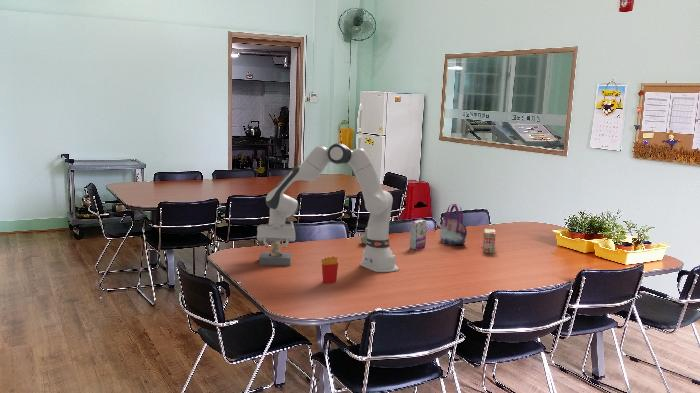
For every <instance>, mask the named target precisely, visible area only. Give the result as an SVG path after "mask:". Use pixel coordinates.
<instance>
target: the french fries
mask: <svg viewBox="0 0 700 393" xmlns="http://www.w3.org/2000/svg"><path fill="white" fill-rule="evenodd" d="M338 259H339V257H338V256H337V257H335V256H331V257H330V256H329V257H324V258H322V259H321V272H322V273H321V275H322V282H323V284H333V283H336V282H337V276H338V270H339V263H338Z"/></svg>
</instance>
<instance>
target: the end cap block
mask: <svg viewBox="0 0 700 393" xmlns="http://www.w3.org/2000/svg"><path fill="white" fill-rule="evenodd" d="M291 264H292V252H289V251H288V252H284V251H280V256H271V251H261V252H260V253H259V257H258V265H259V266H282V267H283V266H288V267H289V266H291Z"/></svg>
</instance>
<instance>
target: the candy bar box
mask: <svg viewBox="0 0 700 393" xmlns="http://www.w3.org/2000/svg"><path fill="white" fill-rule="evenodd" d="M409 225H410V229H409V249H410V248H412V249H411V250H415V249H417V250H420V249H422V247H423V248H425V247H426V239H427V238H426V237H427V236H426V235H427V220H424V219H417V220H414V221H410V224H409ZM419 248H420V249H419Z"/></svg>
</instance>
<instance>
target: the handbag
mask: <svg viewBox="0 0 700 393" xmlns="http://www.w3.org/2000/svg"><path fill="white" fill-rule="evenodd" d="M458 206H459V204H458V203H451V204H450V205H449V206H448V208H447V209H446V214H445V220H444V221H442V223H441V226H440V235H439V236H440V242H441V243H443V242H444V244H446V243H448V244H447V245H450V244H451V245H450V246H457V245H458V246H459V245H465V244H466V240H467V236H468V235H467V234H468V230H467V227H466V226H465V225H464V224H463V220H464V219H463V216H464V215H463V211H462V207H461V206H459V207H458ZM454 209H455V212H456V218H457V219H453V218H452V214H453V210H454Z"/></svg>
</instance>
